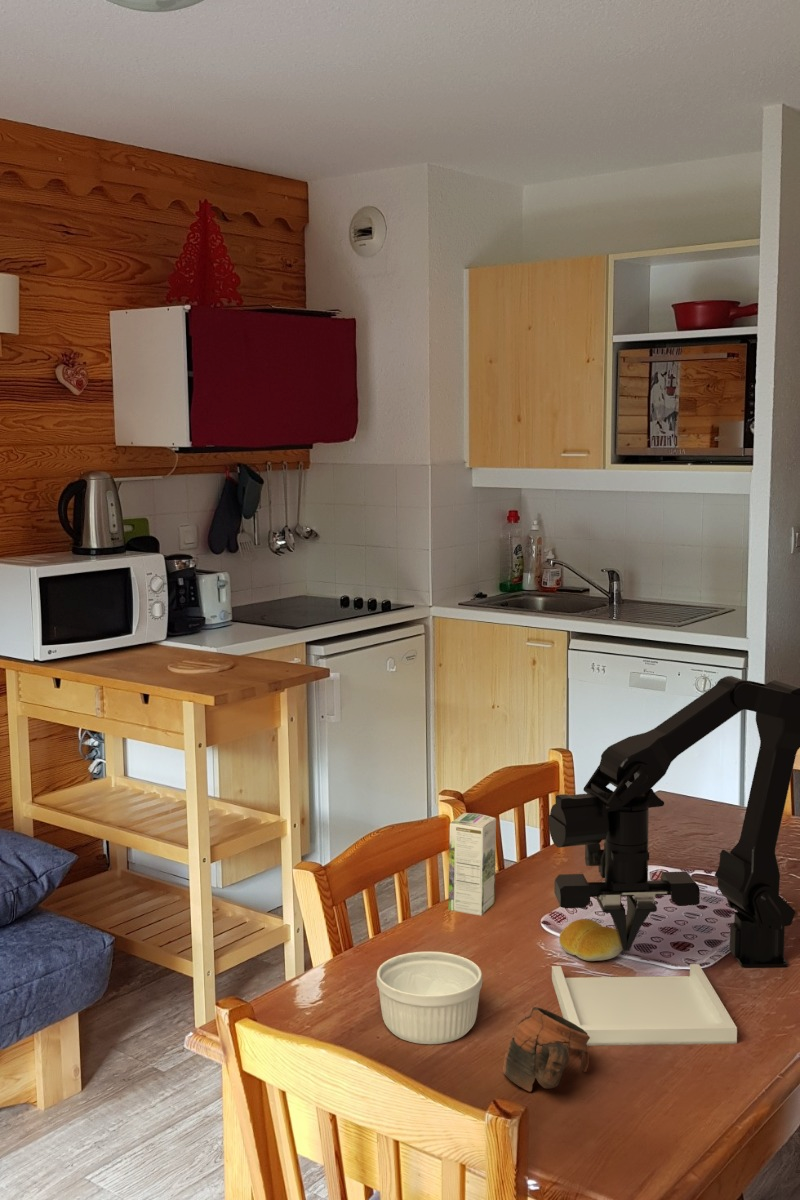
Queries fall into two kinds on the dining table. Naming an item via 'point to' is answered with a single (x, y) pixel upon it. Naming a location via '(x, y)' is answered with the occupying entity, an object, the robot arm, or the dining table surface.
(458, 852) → the syrup box
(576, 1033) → the pottery mug
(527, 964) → the dining table surface
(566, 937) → the bread roll
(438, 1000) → the ramekin
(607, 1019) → the tray
